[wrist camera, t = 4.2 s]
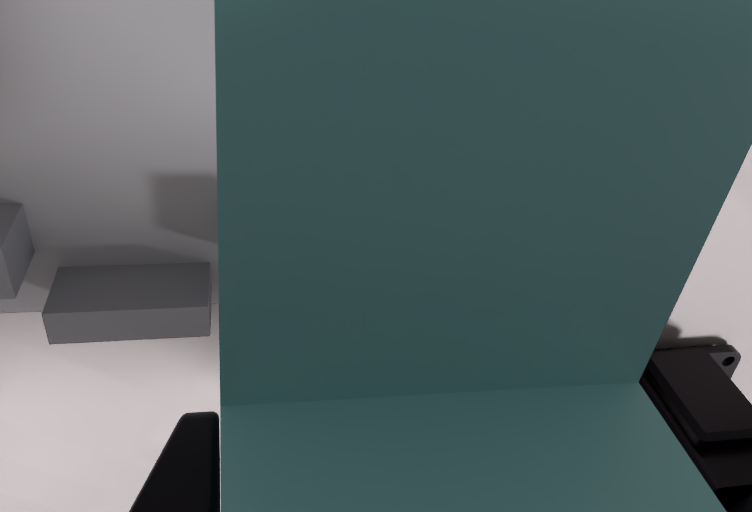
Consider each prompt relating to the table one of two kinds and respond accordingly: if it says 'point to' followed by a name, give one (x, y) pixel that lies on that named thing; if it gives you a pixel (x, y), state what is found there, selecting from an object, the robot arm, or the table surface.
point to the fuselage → (464, 246)
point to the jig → (109, 167)
